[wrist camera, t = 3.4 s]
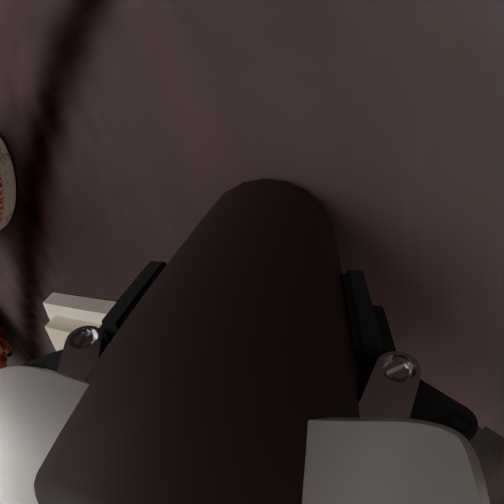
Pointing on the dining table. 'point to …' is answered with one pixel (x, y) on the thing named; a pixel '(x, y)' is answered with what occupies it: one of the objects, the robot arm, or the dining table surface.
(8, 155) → the teacup with lid
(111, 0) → the dining table surface
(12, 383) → the robot arm
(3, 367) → the dragon fruit
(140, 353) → the dark brown water bottle
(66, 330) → the stand
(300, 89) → the dining table surface
